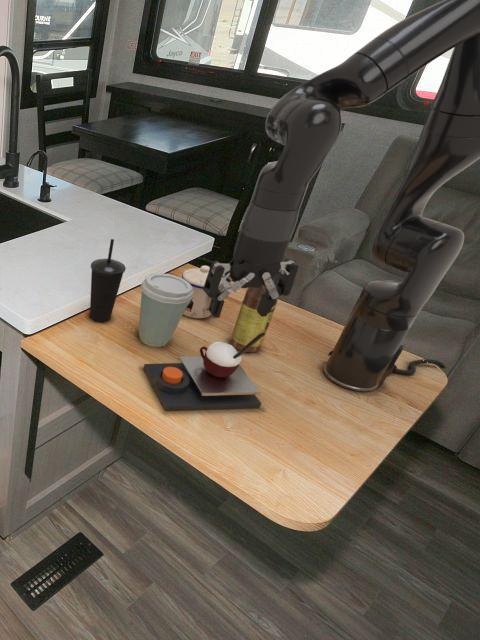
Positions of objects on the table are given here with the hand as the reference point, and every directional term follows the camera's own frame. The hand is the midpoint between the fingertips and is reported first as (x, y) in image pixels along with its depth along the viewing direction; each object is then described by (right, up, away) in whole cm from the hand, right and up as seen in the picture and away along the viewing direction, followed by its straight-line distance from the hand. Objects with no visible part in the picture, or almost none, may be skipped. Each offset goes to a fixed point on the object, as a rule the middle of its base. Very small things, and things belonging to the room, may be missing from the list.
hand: (237, 315), depth 93 cm
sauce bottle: (+12, -6, +21) cm, 26 cm away
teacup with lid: (+7, +2, +33) cm, 34 cm away
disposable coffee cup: (-7, -5, +23) cm, 25 cm away
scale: (-3, -14, +9) cm, 17 cm away
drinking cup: (-17, +1, +31) cm, 36 cm away
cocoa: (0, -11, +8) cm, 14 cm away
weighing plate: (0, -11, +8) cm, 14 cm away
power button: (-9, -12, +8) cm, 17 cm away
